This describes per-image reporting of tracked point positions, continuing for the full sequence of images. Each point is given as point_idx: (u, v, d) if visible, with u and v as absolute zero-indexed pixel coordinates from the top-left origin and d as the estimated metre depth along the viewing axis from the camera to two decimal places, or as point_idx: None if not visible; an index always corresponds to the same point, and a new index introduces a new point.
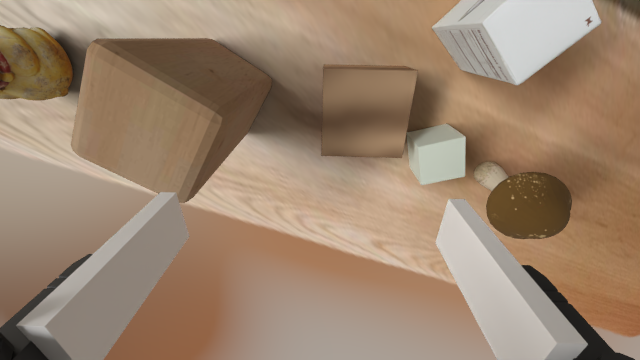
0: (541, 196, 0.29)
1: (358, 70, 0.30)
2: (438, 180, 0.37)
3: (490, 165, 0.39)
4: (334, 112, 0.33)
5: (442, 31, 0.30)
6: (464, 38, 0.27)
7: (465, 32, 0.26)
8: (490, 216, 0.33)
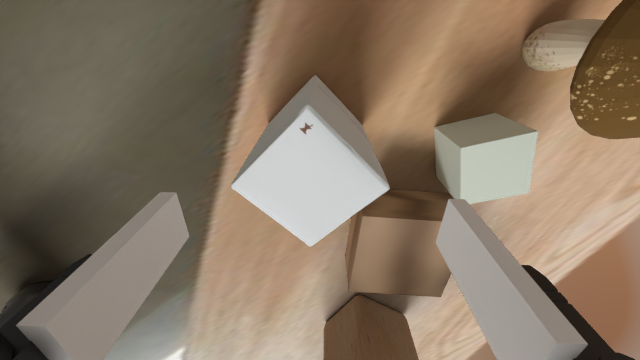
0: None
1: (354, 266, 0.29)
2: (529, 170, 0.22)
3: (531, 53, 0.21)
4: (393, 284, 0.30)
5: None
6: None
7: None
8: None
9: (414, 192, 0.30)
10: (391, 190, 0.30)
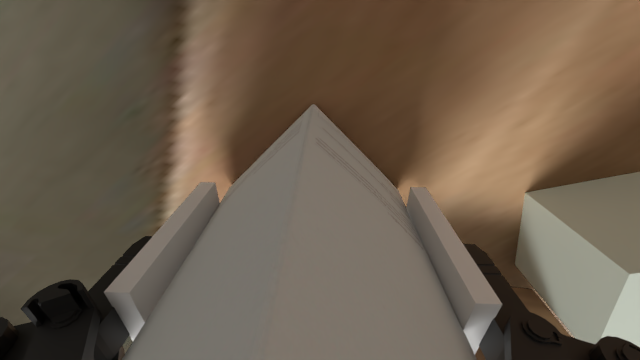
0: None
1: None
2: None
3: None
4: None
5: None
6: None
7: None
8: None
9: None
10: None
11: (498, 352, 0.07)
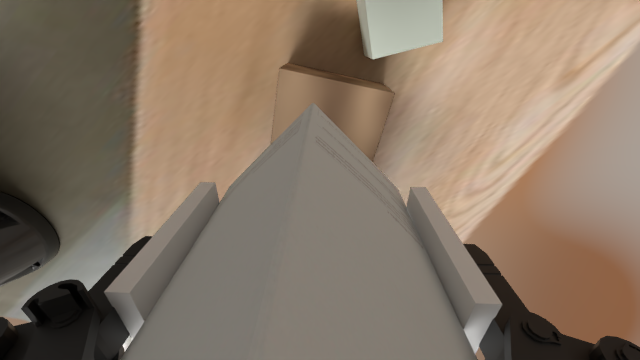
0: None
1: (272, 138, 0.27)
2: (440, 9, 0.21)
3: None
4: None
5: None
6: None
7: None
8: None
9: (347, 76, 0.29)
10: (323, 71, 0.29)
11: (498, 352, 0.07)
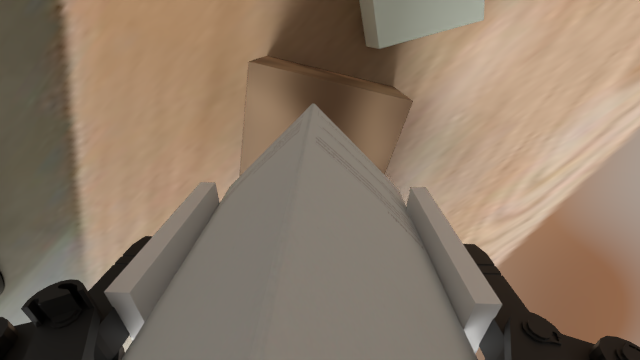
0: None
1: (242, 158, 0.20)
2: None
3: None
4: None
5: None
6: None
7: None
8: None
9: (346, 75, 0.22)
10: (315, 68, 0.21)
11: (498, 352, 0.07)
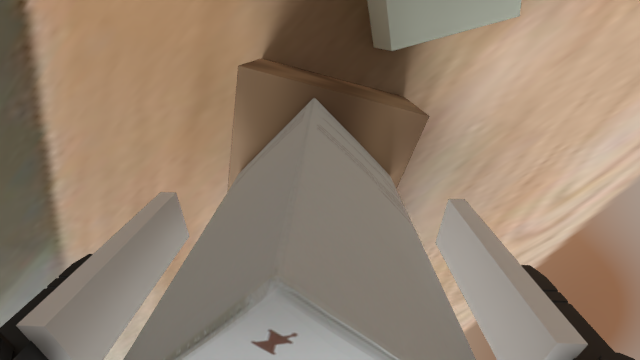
0: None
1: (230, 175, 0.17)
2: None
3: None
4: None
5: None
6: None
7: None
8: None
9: (351, 83, 0.19)
10: (316, 73, 0.19)
11: None
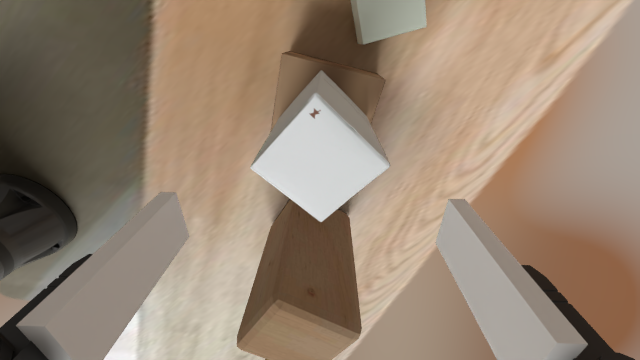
0: None
1: (273, 119, 0.29)
2: None
3: None
4: None
5: None
6: None
7: None
8: None
9: (344, 65, 0.31)
10: None
11: None
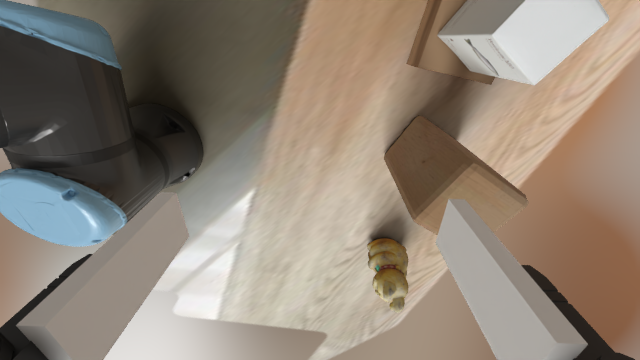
0: None
1: (430, 34, 0.34)
2: None
3: None
4: (456, 63, 0.36)
5: None
6: None
7: None
8: None
9: None
10: None
11: None
